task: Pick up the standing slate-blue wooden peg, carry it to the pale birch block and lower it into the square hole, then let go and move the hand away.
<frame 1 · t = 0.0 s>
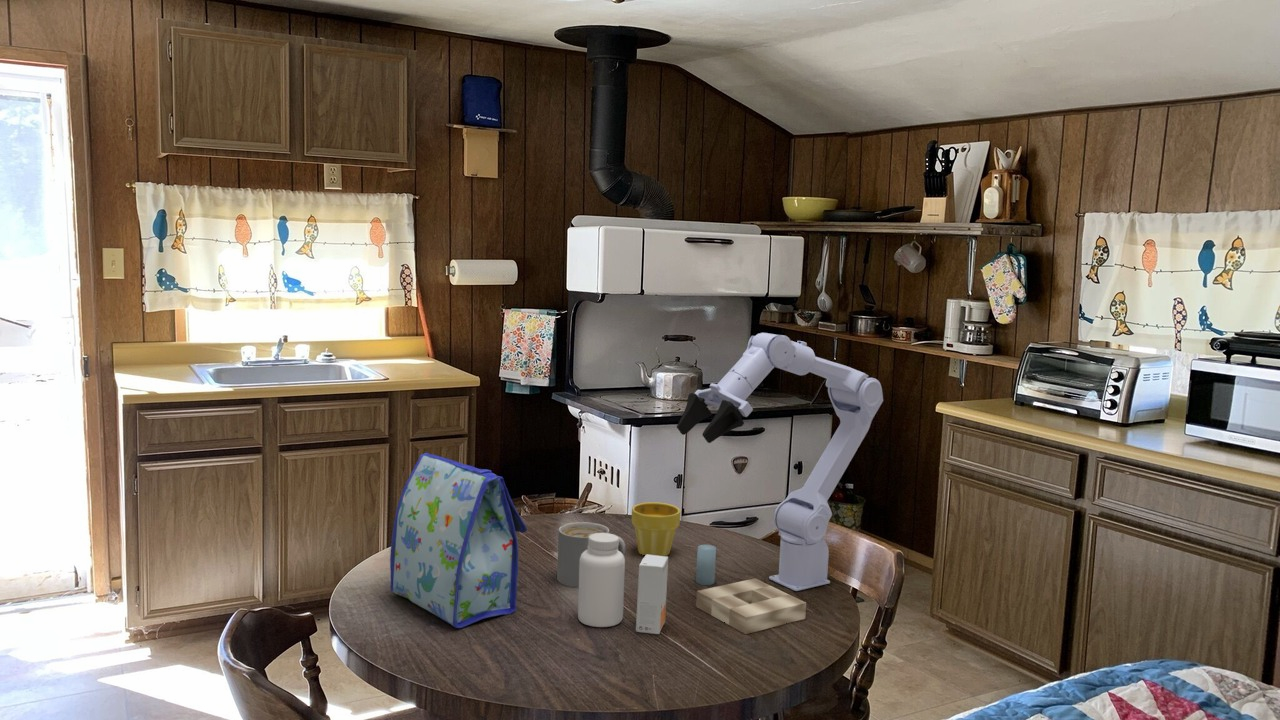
hand: (692, 434, 171), 32 cm above the table, tool tilted 50°, fingers open, 7 cm apart
plant pot: (654, 553, 205), on the table
socket block: (750, 612, 174), on the table
skincare box: (650, 628, 166), on the table
pill bottle: (600, 620, 168), on the table
peg: (705, 581, 189), on the table
lunch bag: (455, 604, 173), on the table
coffee mug: (591, 579, 188), on the table
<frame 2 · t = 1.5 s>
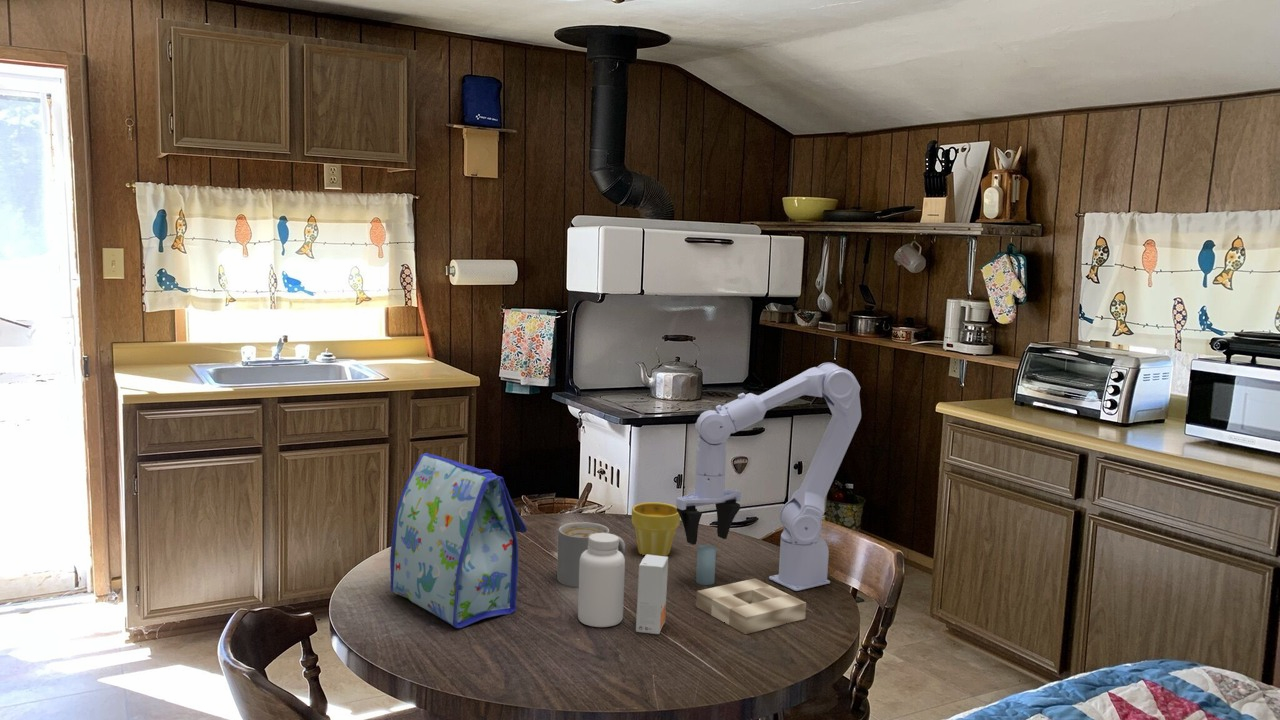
hand: (706, 540, 188), 8 cm above the table, tool pointing down, fingers open, 7 cm apart
nothing on the table moved.
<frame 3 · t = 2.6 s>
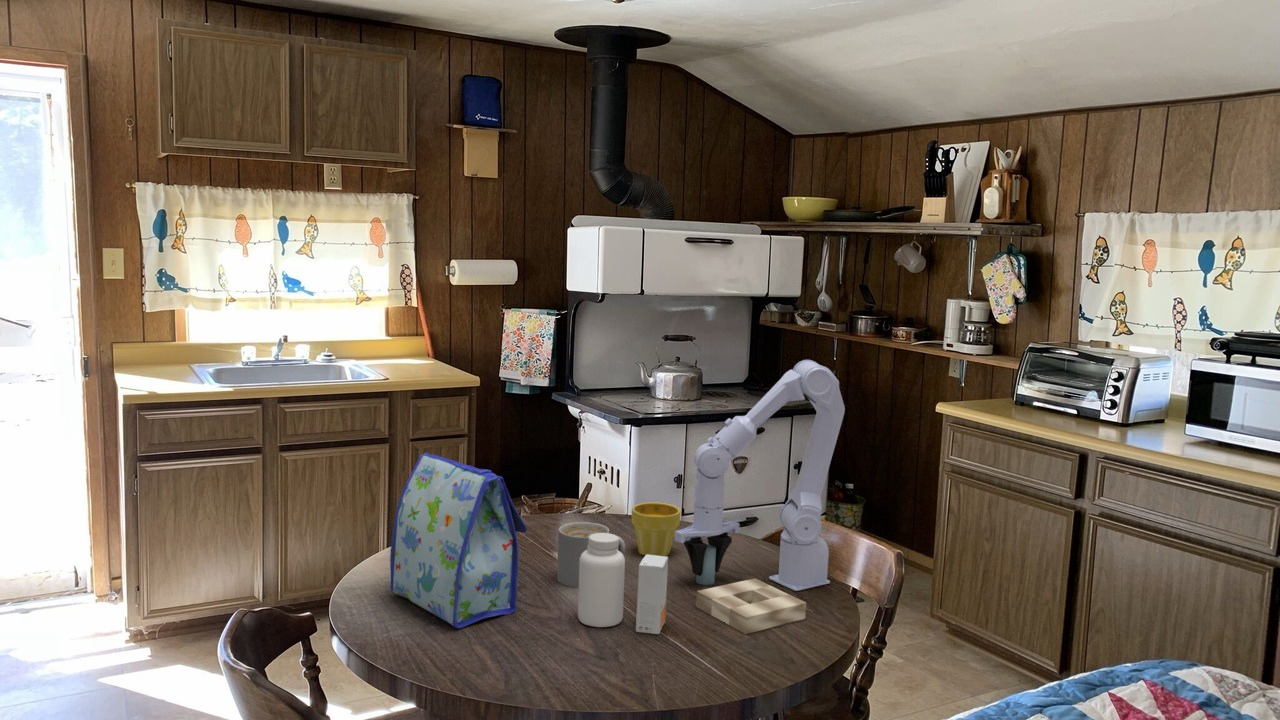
hand: (705, 572, 188), 2 cm above the table, tool pointing down, fingers closed on peg, 4 cm apart
peg: (705, 581, 189), on the table, touching gripper
everything else where it was.
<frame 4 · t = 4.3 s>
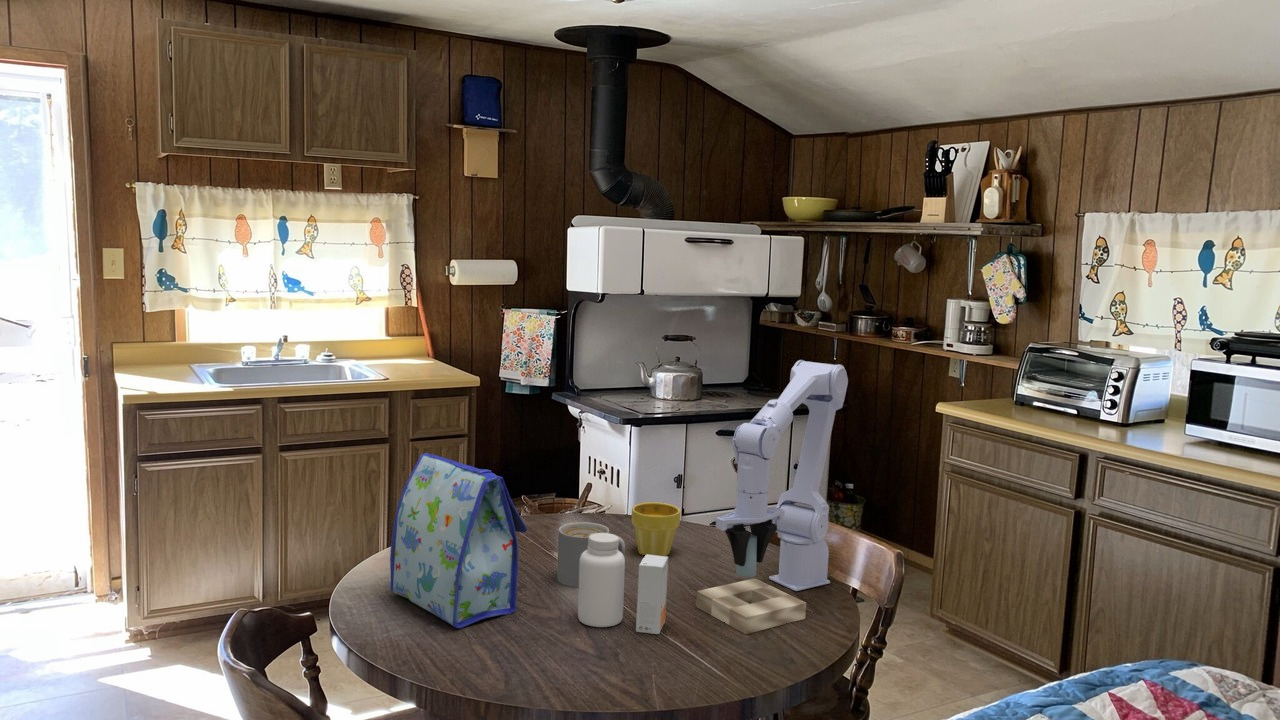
hand: (748, 562, 174), 9 cm above the table, tool pointing down, fingers closed on peg, 4 cm apart
peg: (746, 574, 174), point 7 cm above the table, touching gripper
everything else where it was.
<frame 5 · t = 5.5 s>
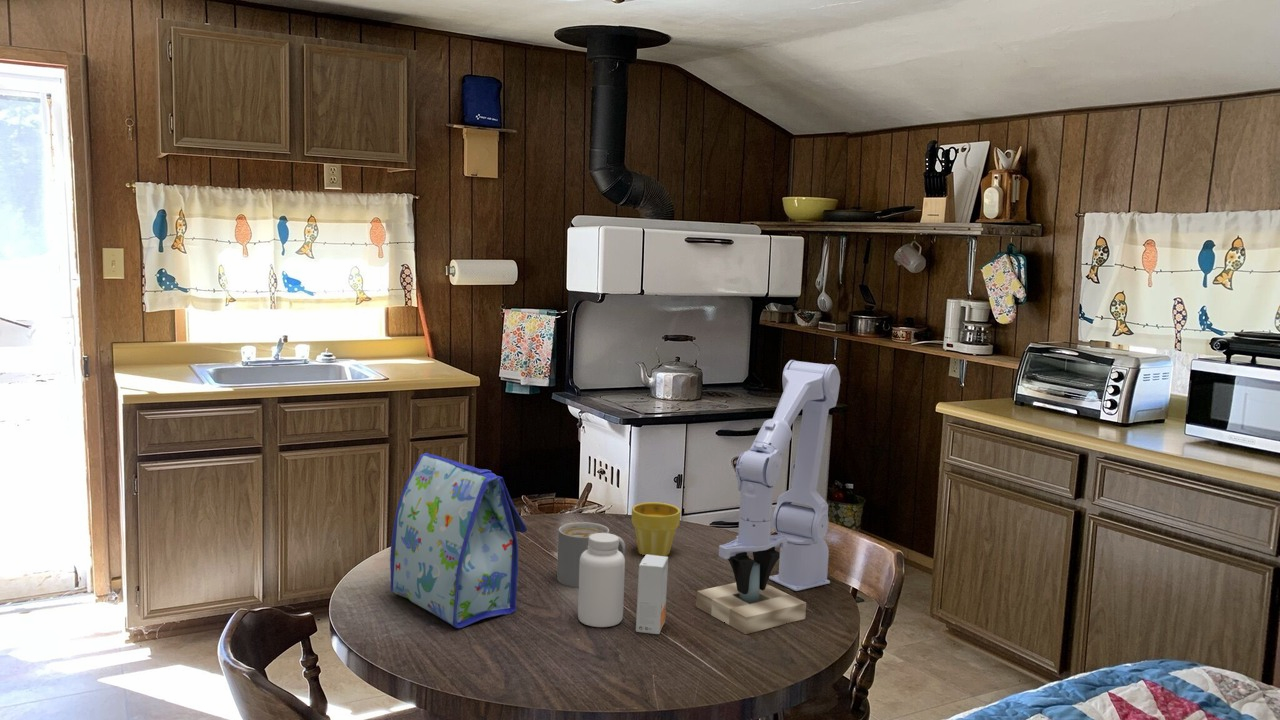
hand: (751, 590, 173), 4 cm above the table, tool pointing down, fingers closed on peg, 4 cm apart
peg: (749, 601, 174), point 2 cm above the table, touching gripper
everything else where it was.
when the fingers open (3 cm above the table, at t = 6.1 s): peg drops 1 cm, resting in socket block.
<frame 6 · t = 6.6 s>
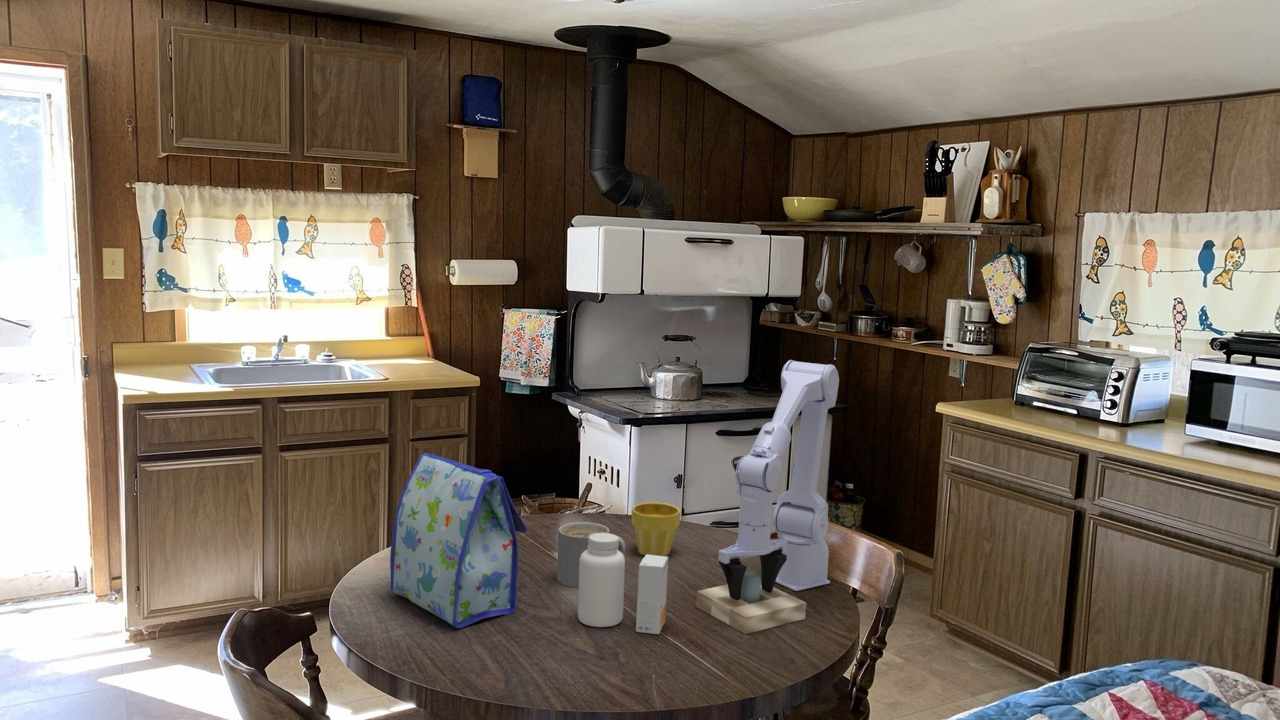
hand: (751, 594, 173), 3 cm above the table, tool pointing down, fingers open, 7 cm apart
peg: (748, 612, 174), resting in socket block
everything else where it was.
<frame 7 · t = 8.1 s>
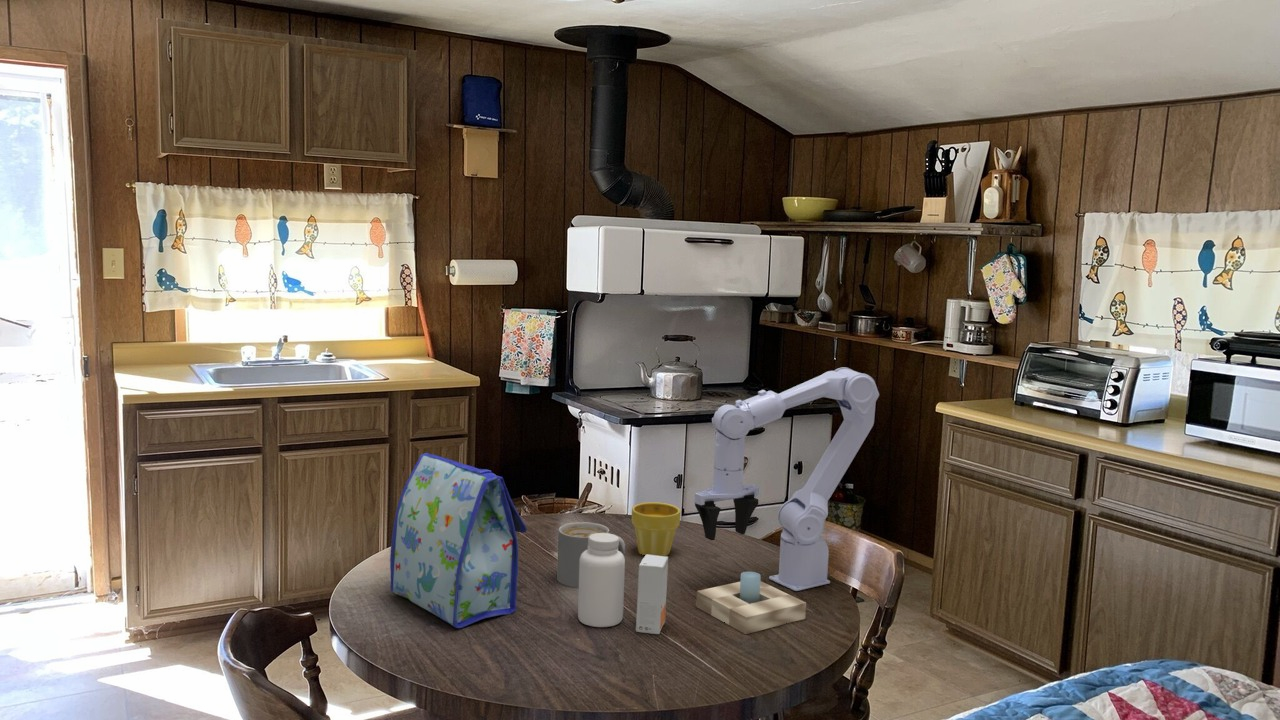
hand: (725, 535, 186), 10 cm above the table, tool pointing down, fingers open, 7 cm apart
nothing on the table moved.
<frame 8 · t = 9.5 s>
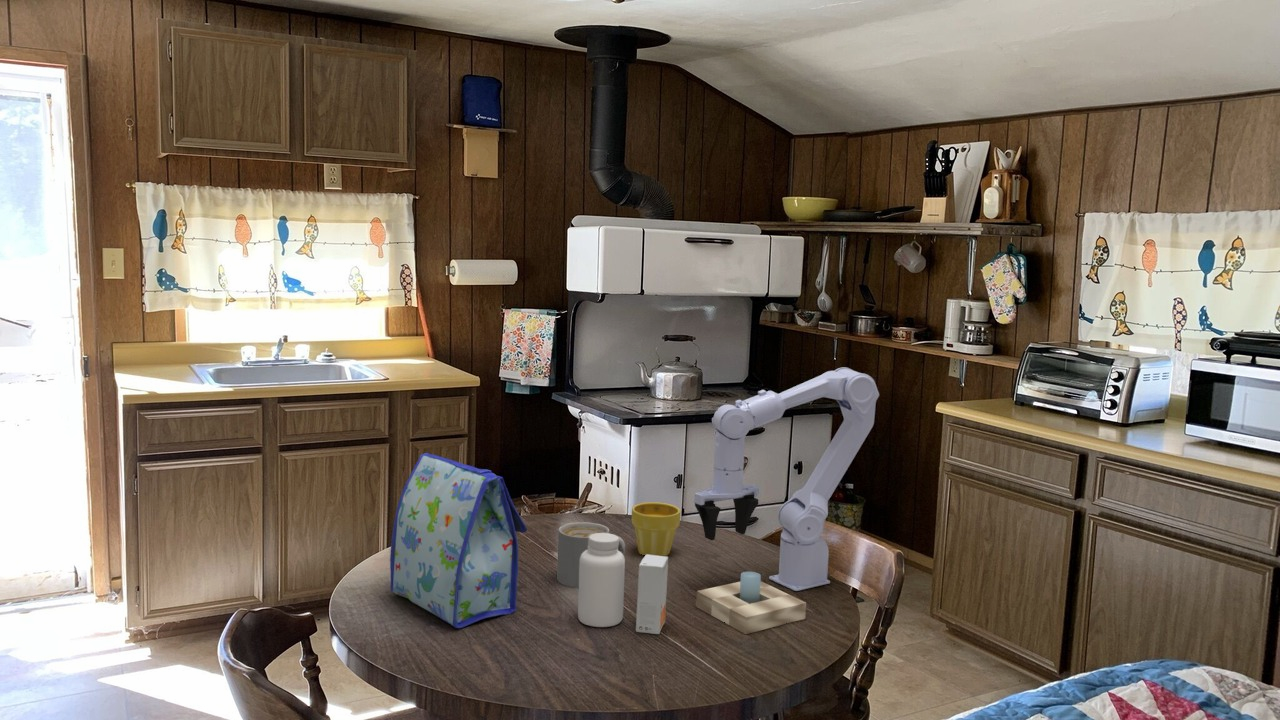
hand: (725, 535, 186), 10 cm above the table, tool pointing down, fingers open, 7 cm apart
nothing on the table moved.
at the end: peg 0.4 cm off-centre on the socket block, point 0.0 cm above the socket block's base; peg tilted 0°; the gripper is holding nothing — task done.
